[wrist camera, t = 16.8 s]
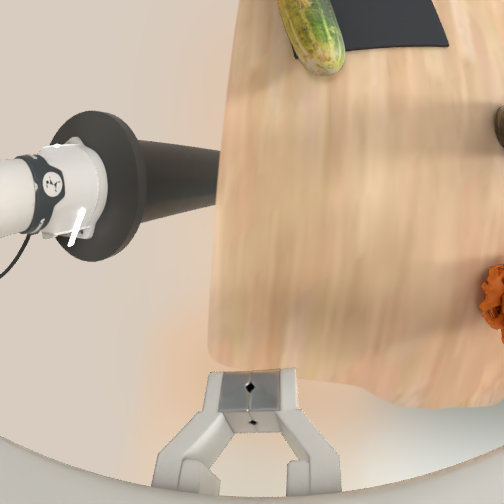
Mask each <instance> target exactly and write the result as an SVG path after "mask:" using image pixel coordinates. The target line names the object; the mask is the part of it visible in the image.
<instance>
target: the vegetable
mask: <svg viewBox="0 0 504 504" xmlns="http://www.w3.org/2000/svg"><path fill="white" fill-rule="evenodd" d="M277 3H278V6H279V10H280V14H281V17H282V21H283V23H284V27H285V29H286V32H287V34H288V36H289V39H290V41H291V43H292V45H293V48H294V50H295V52H296V54H297V56H298V58H299V60H300V61H301V62H302V64H303V65H304V66H305V67H306V68H307V69H308V70H309V71H311V72H312V73H314V74H316V75H321V76H328V75H332V74H334V73H336V72H338V71H339V70H340V69H341V67H342V66H343V64H344V61H345V46H344V42H343V38H342V34H341V31H340V28H339V26H338V23H337V20H336V16H335V13H334V10H333V8H332V5H331V3H330V0H277Z"/></svg>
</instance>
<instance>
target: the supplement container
mask: <svg viewBox="0 0 504 504" xmlns="http://www.w3.org/2000/svg"><path fill="white" fill-rule="evenodd" d="M495 128H496V132H497V135H498V138H499V140H500V142H501V143H502V145H503V146H504V105H503V106H502V107H501V108H500V109H499V110H498V112H497V115H496V119H495Z"/></svg>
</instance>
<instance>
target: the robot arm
mask: <svg viewBox="0 0 504 504" xmlns="http://www.w3.org/2000/svg"><path fill="white" fill-rule="evenodd" d="M107 192H108V182H107V174H106V170H105V167H104V164H103V162H102V160H101V158H100V157H99V155H98V154H97V153H96V152H95V151H94V150H92V149H91V148H88V147H86V146H85V145H84V144H83V142H82V141H81V139H80V138H79V137H72V138H70V139H69V140H68V141H67V142H66V143H65V144H64V145H59V144H56V145H52V146H45V147H43V149H42V150H40V151H39V153H38V154H37V155H31V154H26V155H23V156H18V157H16V158H14V159H5V160H0V238H2V237H5V236H8V235H12V234H15V233H20V234H26V233H27V237H26V239H25V241H24V243H23V245H22V247H21V249H20V250H19V252H18V254H17V256H16V257H15V259H14V260H13V261H12V263H11V264H10V265H9V267H8V268H7V269H6V270H5V271H4V272H3V273H2V274H0V278H2V277H3V276H4V275H5V274H6V273H7V272H8V271H9V270H10V269H11V268H12V267H13V265H14V264H15V263H16V262H17V260H18V259H19V257H20V256H21V254H22V252H23V251H24V249H25V247H26V245H27V243H28V241H29V239H30V236H31V235H34V234H38V233H39V231H42V234H43V239H49V238H53V237H57V236H65V237H71V238H70V241H69V244H68V246H72V245H73V244H74V241H75V238H82V239H90V238H92V236H93V233H94V229H95V224H96V222H97V220H98V219H99V217H100V216H101V214H102V212H103V210H104V207H105V204H106V200H107ZM256 432H257V433H264V432H265V433H266V432H281V434H282V436H283V437H284V438H285V440H286V441H287V443H288V444H289V446H290V447H291V449H292V450H293V452H294V453H295V455H296V456H297V457H298V459H299V460H293V461H290V462H289V463H288V464H287V489H286V497H236V496H219V490H220V479H219V478H218V477H216V475H214V474H213V473H212V472H211V471H210V470H209V468H210V467H211V466H212V464H213V463H214V462H215V460H216V459H217V458H218V456H219V455H220V454H221V452H222V451H223V450H224V448H225V447H226V446H227V444H228V443H229V441H230V440H231V439H232V437H233V436H234V433H256ZM0 504H504V445H503V446H501V447H499V448H497V449H495V450H492V451H490V452H488V453H486V454H483V455H480V456H478V457H475V458H473V459H470V460H468V461H465V462H462V463H460V464H457V465H454V466H452V467H448V468H445V469H442V470H439V471H436V472H433V473H429V474H426V475H422V476H419V477H415V478H411V479H407V480H403V481H399V482H395V483H390V484H385V485H381V486H376V487H370V488H364V489H358V490H352V491H345V492H342V488H341V473H340V460H339V455H338V454H337V452H336V451H335V450H334V449H333V447H332V446H331V445H330V444H329V443H328V441H327V440H326V439H325V438H324V437H323V435H322V434H321V433H320V432H319V430H318V429H317V428H316V427H315V426H314V424H313V423H312V422H311V421H310V419H309V418H308V417H307V416H306V414H305V413H304V412H303V411H302V409H299V397H298V385H297V376H296V368H285V369H268V370H255V371H239V372H210V374H209V376H208V381H207V387H206V392H205V399H204V404H203V410H202V412H198V413H197V414H196V415H195V416H194V417H193V418H192V419H191V420H190V421H189V422H188V423H187V424H186V425H185V426H184V428H183V429H182V430H181V431H180V432H179V433H178V434H177V435H176V436H175V437H174V438H173V439H172V440H171V441H170V442H169V443H168V444H167V445H166V446H165V448H164V449H162V451H161V452H159V454H158V456H157V461H156V465H155V470H154V475H153V480H152V484H151V487H150V486H145V485H140V484H135V483H131V482H127V481H122V480H118V479H114V478H110V477H107V476H103V475H99V474H96V473H93V472H89V471H86V470H83V469H79V468H77V467H74V466H71V465H68V464H65V463H62V462H59V461H57V460H54V459H51V458H49V457H46V456H44V455H41V454H39V453H36V452H34V451H32V450H30V449H27V448H25V447H23V446H21V445H18V444H16V443H14V442H12V441H10V440H8V439H6V438H4V437H1V436H0Z"/></svg>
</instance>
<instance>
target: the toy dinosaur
mask: <svg viewBox="0 0 504 504" xmlns="http://www.w3.org/2000/svg"><path fill="white" fill-rule="evenodd" d="M487 281H488V285H487V284H486V283H485V282H484V283H483V285H481V287H482V289H483V290H484V292H485V293H486V294H487V295H486V296H485V297H486V298H485V300H484V301H483V302H482V303H481V304H480V305H479V308H480V309H481V310H482V312H483V316H484V318H485V320H486V322H487V323H488V324H489V325H490V326H491V327H492V328H494V329H496V330H497V329H501V333H502V342H503V344H504V265H497V266H496V267H490V268H489V276H488V278H487ZM488 310H490V311H491V314H492V316H493V317H492V316H491V315H490V314H489V311H488ZM483 316H482V317H483Z"/></svg>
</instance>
